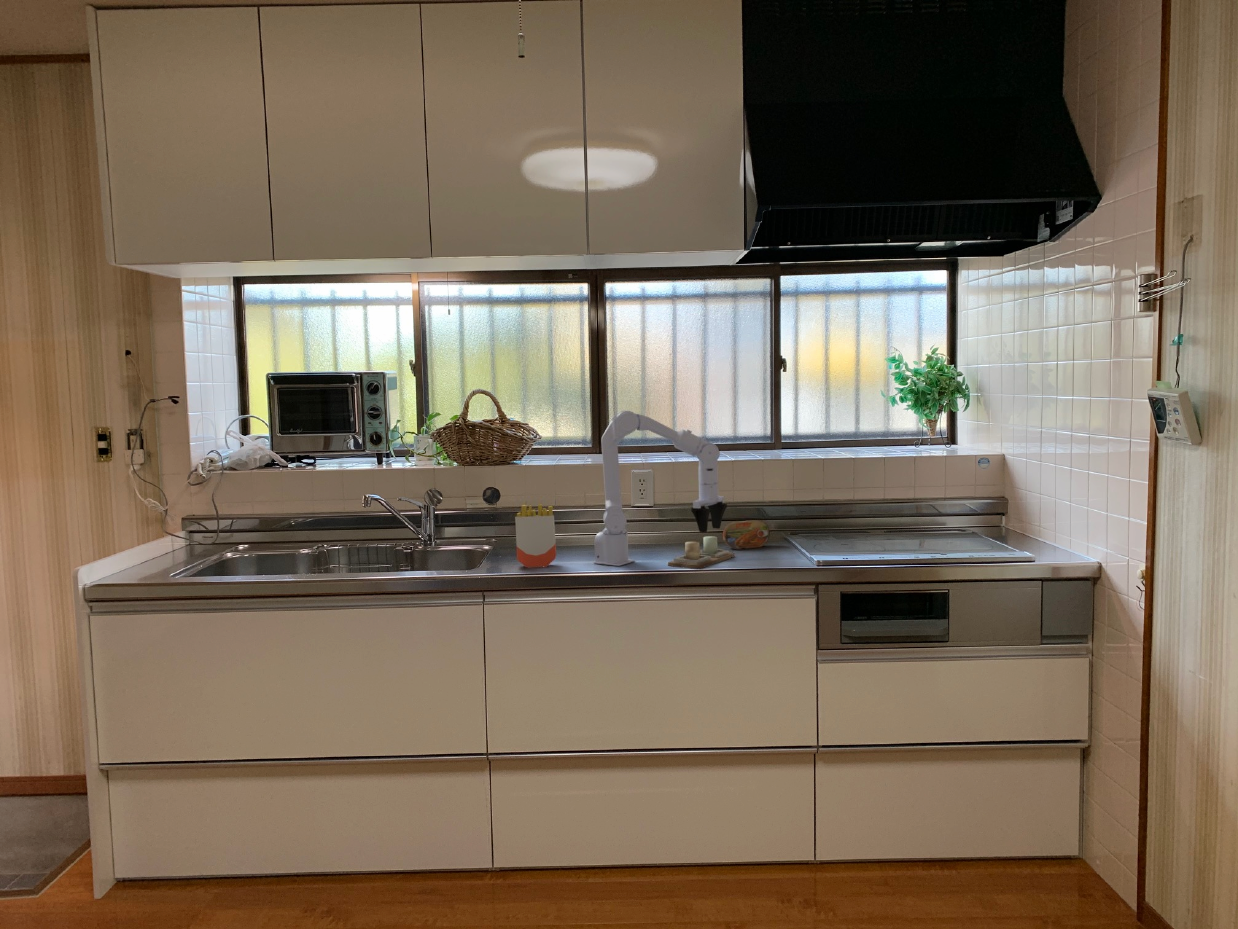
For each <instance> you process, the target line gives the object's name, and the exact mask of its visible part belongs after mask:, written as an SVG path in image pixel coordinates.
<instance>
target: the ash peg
mask: <svg viewBox="0 0 1238 929" xmlns="http://www.w3.org/2000/svg"><path fill="white" fill-rule="evenodd" d="M684 546H685V548H684V553H685V554H684V555H686V559H691V560H698V559H700V550H701V549H700V548H701V546H700V542H699V541H686V542H685V543H684Z"/></svg>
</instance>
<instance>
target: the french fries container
mask: <svg viewBox="0 0 1238 929" xmlns="http://www.w3.org/2000/svg"><path fill="white" fill-rule="evenodd" d="M527 506H528V505H527V504H523V505H521V512H518V513H516V516H515V517H514V518H515V519H514V520H515V540H516V541H515V542H516V560H517V562H519V563H521V565H523V566H524V567H525V568H526V567H543V566H545V568H547V567H548V566H549V565H550V564H551V563H553V562H554V560H555V559H556V558H557V547H556V546H557V545H556V544H557V543H556V540H557V539H556V526H555V514H554V513H553V510H554V508H553V505H551V506H549V505H548V510H547V508H546V507H545V508H544V507H543V504H538V505H537V514H536V509H533V508H532V505H531V504H530V505H529V506H528V507H527ZM527 509H528V510H527Z"/></svg>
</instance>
